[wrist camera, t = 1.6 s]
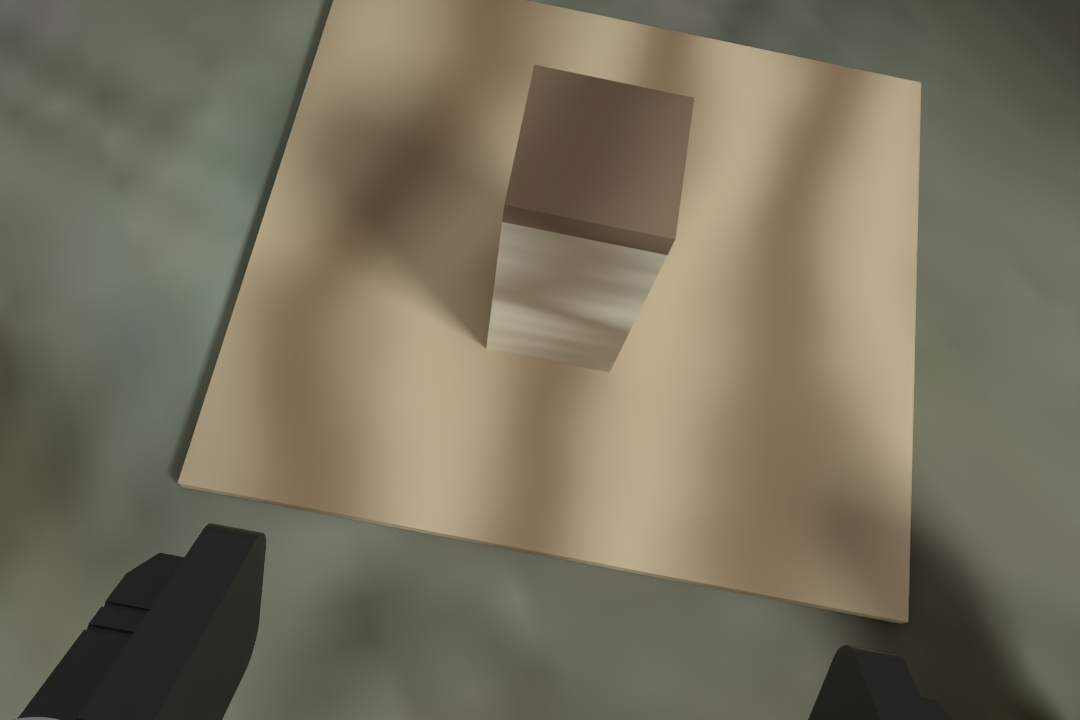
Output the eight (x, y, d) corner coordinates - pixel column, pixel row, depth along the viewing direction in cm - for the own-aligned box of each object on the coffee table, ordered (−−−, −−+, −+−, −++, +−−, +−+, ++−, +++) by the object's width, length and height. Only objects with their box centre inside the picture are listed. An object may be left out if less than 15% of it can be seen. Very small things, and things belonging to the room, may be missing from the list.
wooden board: (915, 90, 36) (921, 82, 35) (900, 623, 28) (908, 622, 28) (346, -28, 35) (345, -38, 35) (181, 487, 28) (177, 483, 27)
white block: (626, 262, 31) (694, 97, 23) (609, 373, 30) (675, 239, 21) (509, 239, 31) (534, 64, 23) (486, 348, 30) (504, 204, 21)
